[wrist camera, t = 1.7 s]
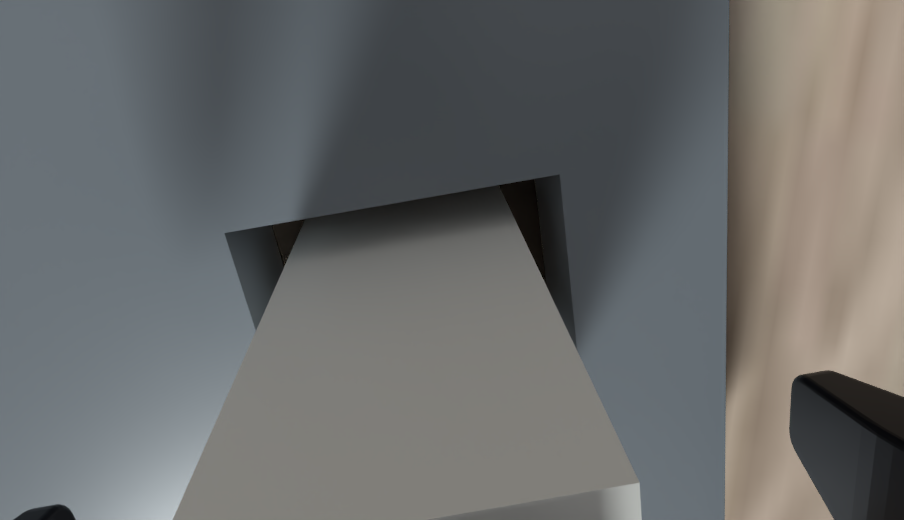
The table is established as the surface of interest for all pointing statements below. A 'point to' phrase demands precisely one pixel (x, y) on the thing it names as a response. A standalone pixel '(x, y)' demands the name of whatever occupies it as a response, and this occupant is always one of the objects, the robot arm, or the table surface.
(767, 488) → the table surface
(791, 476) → the table surface
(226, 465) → the plug
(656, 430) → the panel
